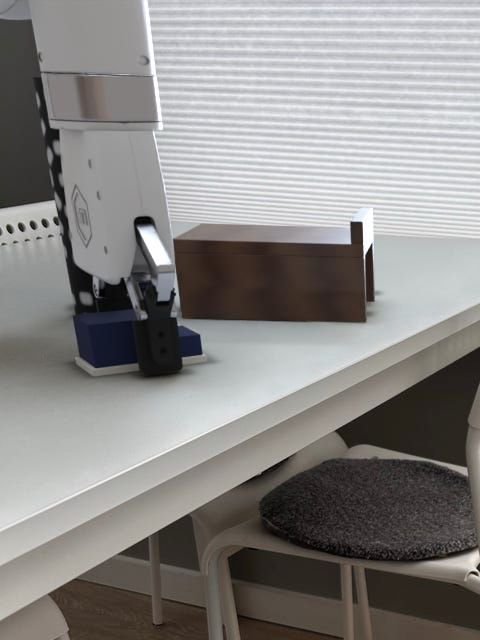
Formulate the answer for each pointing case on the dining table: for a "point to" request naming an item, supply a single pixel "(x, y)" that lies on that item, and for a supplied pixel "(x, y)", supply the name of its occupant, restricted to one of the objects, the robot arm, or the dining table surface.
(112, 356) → the trainer
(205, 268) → the wooden storage chest
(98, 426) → the dining table surface
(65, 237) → the spotted tube
